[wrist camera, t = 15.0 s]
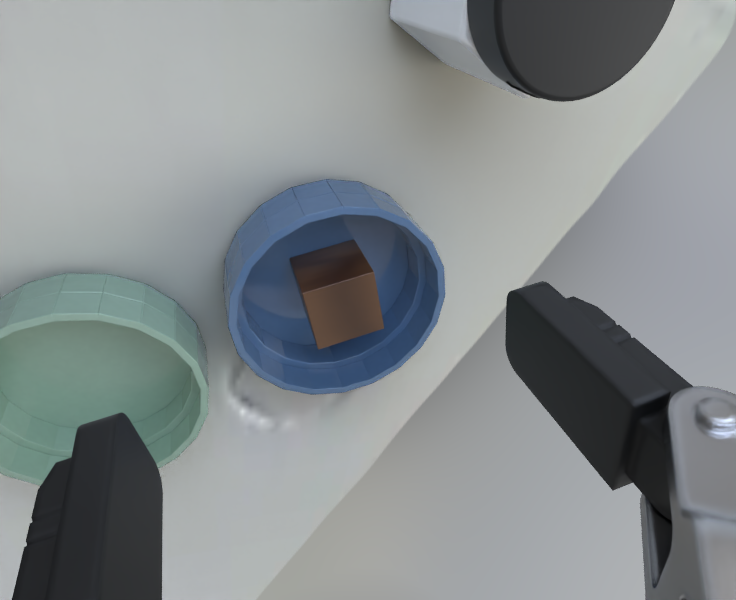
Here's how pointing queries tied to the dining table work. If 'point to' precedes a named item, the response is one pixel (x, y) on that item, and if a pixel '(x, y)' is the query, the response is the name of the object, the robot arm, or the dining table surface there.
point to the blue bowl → (282, 298)
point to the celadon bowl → (95, 369)
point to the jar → (537, 40)
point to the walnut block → (338, 293)
